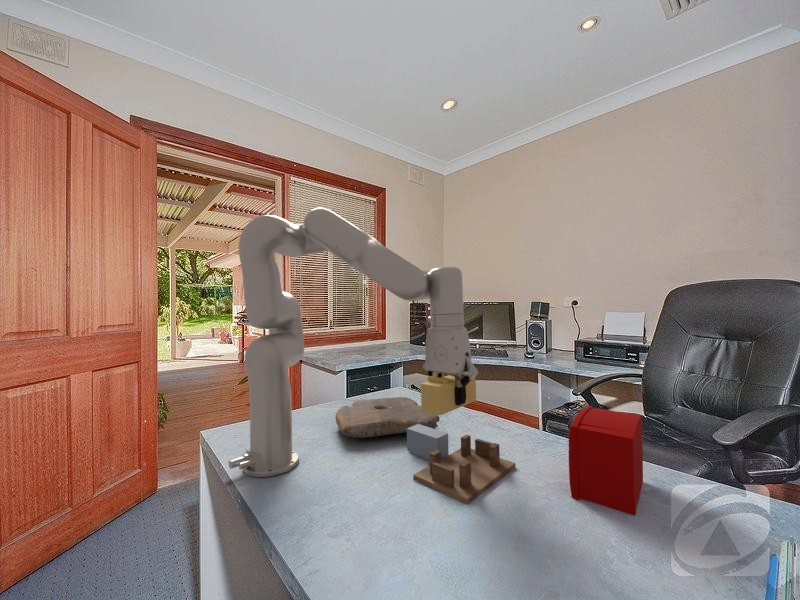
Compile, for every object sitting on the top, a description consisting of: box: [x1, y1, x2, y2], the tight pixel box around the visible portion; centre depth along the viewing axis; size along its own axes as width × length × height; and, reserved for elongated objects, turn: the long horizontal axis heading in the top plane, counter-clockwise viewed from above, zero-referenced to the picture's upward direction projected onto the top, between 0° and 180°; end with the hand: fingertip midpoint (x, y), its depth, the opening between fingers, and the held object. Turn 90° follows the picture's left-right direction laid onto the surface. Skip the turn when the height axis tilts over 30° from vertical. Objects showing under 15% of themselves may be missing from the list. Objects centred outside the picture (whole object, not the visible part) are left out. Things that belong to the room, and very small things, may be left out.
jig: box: [412, 434, 516, 505], centre depth 78 cm, size 20×14×6 cm
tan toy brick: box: [420, 371, 477, 417], centre depth 79 cm, size 14×5×7 cm, turn 136°
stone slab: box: [335, 396, 440, 439], centre depth 111 cm, size 31×29×6 cm
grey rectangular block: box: [406, 424, 450, 461], centre depth 89 cm, size 4×10×6 cm, turn 46°
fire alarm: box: [568, 405, 644, 517], centre depth 71 cm, size 16×11×15 cm
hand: (450, 401), depth 79 cm, fingers closed on tan toy brick, 5 cm apart
